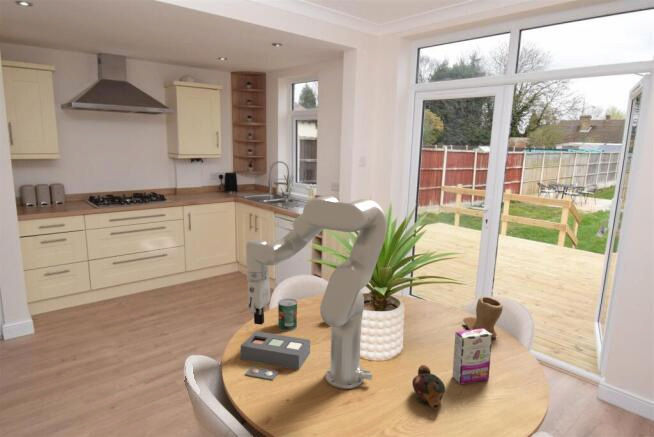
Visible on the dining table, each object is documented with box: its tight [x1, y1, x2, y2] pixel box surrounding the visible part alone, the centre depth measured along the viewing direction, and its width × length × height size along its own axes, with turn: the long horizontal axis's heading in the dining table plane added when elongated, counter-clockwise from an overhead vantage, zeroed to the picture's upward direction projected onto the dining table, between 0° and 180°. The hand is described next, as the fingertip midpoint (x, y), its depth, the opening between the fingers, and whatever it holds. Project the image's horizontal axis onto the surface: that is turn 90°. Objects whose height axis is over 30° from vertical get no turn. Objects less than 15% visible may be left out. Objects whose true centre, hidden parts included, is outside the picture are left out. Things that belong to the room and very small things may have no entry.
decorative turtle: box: [411, 364, 446, 410], centre depth 124 cm, size 10×15×8 cm, turn 8°
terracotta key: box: [253, 340, 264, 344], centre depth 149 cm, size 4×4×2 cm
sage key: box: [268, 339, 284, 347], centre depth 147 cm, size 4×4×2 cm
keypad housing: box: [240, 330, 311, 371], centre depth 147 cm, size 22×12×5 cm, turn 74°
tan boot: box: [463, 296, 503, 339], centre depth 169 cm, size 15×12×15 cm
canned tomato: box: [277, 298, 298, 332], centre depth 170 cm, size 8×8×11 cm
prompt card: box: [244, 366, 280, 381], centre depth 136 cm, size 10×5×1 cm, turn 74°
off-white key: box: [286, 342, 302, 350], centre depth 145 cm, size 4×4×2 cm
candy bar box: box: [452, 328, 493, 385], centre depth 134 cm, size 11×5×16 cm, turn 105°
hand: (259, 323), depth 147 cm, fingers closed
